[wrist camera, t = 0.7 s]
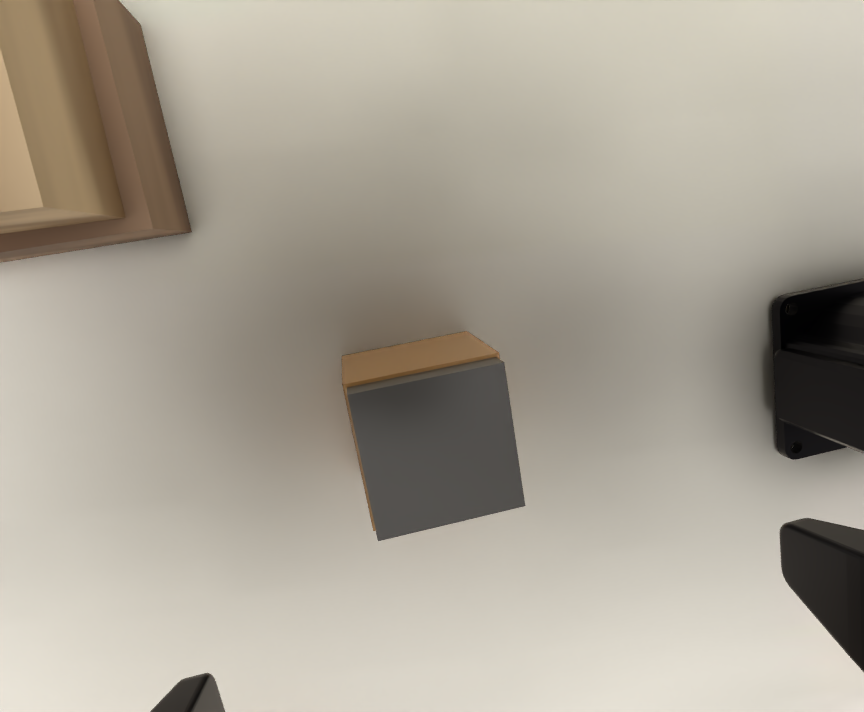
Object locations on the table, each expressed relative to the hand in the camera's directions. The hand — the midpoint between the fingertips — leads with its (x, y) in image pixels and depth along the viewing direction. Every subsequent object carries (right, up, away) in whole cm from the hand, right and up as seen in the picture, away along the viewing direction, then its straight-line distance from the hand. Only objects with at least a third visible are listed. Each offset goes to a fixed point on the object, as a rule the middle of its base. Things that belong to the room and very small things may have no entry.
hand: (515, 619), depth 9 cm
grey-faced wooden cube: (-2, +2, +11) cm, 12 cm away
